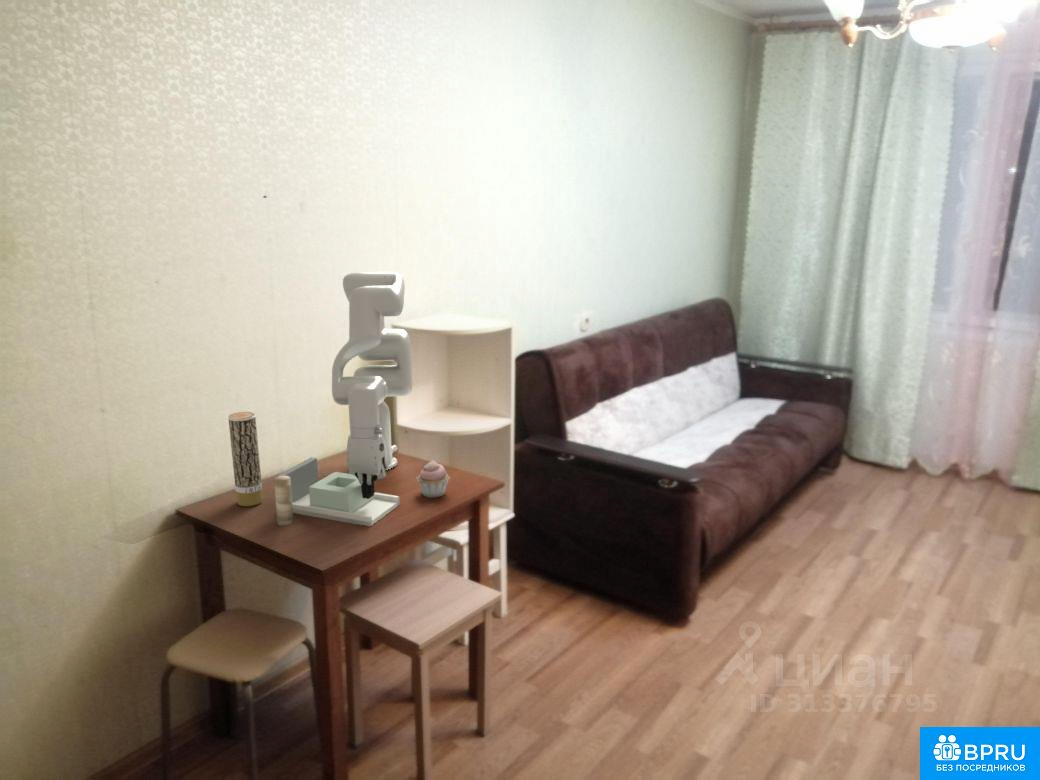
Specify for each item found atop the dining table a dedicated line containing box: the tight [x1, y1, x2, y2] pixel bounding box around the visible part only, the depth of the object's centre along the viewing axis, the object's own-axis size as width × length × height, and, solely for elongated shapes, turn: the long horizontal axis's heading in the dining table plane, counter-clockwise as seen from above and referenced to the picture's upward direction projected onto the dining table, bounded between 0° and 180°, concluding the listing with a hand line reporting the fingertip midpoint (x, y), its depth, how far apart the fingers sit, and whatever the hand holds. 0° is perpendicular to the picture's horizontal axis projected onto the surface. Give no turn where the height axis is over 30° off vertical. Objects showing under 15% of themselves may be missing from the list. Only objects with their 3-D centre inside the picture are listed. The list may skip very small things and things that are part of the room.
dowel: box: [273, 476, 294, 526], centre depth 201 cm, size 4×4×12 cm
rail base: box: [276, 457, 400, 527], centre depth 210 cm, size 15×28×10 cm, turn 69°
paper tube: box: [227, 411, 264, 507], centre depth 212 cm, size 7×7×25 cm
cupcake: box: [416, 459, 450, 499], centre depth 220 cm, size 9×9×10 cm
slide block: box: [309, 471, 374, 513], centre depth 210 cm, size 12×12×6 cm
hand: (368, 496), depth 207 cm, fingers closed
